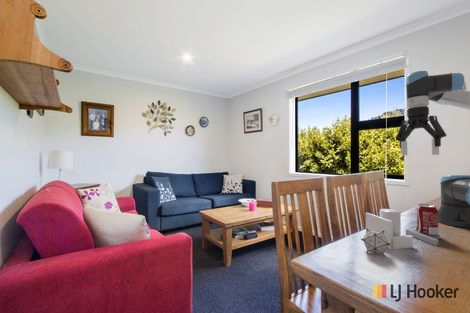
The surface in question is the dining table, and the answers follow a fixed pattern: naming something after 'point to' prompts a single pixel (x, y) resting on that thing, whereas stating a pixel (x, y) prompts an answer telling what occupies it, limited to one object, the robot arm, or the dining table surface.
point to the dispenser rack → (394, 229)
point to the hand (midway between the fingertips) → (418, 155)
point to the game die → (375, 242)
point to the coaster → (431, 236)
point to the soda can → (427, 219)
